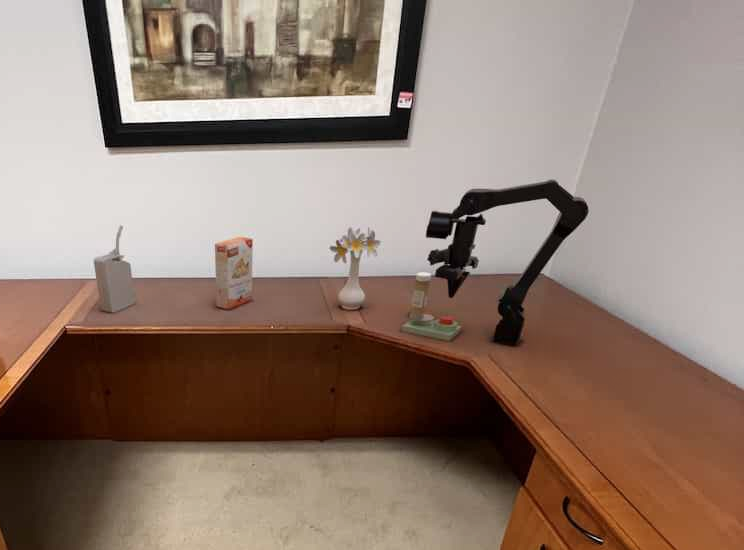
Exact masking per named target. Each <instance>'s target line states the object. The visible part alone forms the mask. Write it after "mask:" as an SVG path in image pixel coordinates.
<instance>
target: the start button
mask: <svg viewBox="0 0 744 550" xmlns="http://www.w3.org/2000/svg"><path fill="white" fill-rule="evenodd" d="M453 321H454V318H453V317H452V316H449V315H443V316H440V324H443V325H452V322H453Z"/></svg>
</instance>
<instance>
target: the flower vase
mask: <svg viewBox="0 0 744 550" xmlns="http://www.w3.org/2000/svg"><path fill="white" fill-rule="evenodd" d="M360 231H361V228H357V229H356V230H355V231H354V230H353V228H352V227H349V228H348V229H347V235H346V234H342V237H341V238H340V240H339V239H336V241H335V244H336V246H335V245H330V246H329V250H330V251H331V252H333V253H335V255H334V257H333V261H334V262H335V263H338V262H339V261H340V260H341V261H342V262H343V263H344V264H347V256H346V254H348V252H349V254H350V264H349V272H348V278H347V282H346V283H345V286H344V287H343V288H342V289H341V290H340V291H339V292H338V296H337V300H338V302H339V304H341V308H342V309H344V310H346V311H347V310H349V311H356V310H359V309H360V307H361V305H363V303H365V301H366V293H365V292H364V290H363V288H361V285H360V282H359V272H360V261H361V257H362V255H363V252H364V251H366V255H367V257H370V256H371V254H372V255H373V257H374V258H377V257H378V252H377V249H378V247H380V245H381V241H380V239H376V232H375V231H374V230H373V229H371V228H370V227H369V226H367V234H366V233H365V232H362V233H360Z"/></svg>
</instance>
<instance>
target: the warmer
mask: <svg viewBox="0 0 744 550" xmlns="http://www.w3.org/2000/svg"><path fill="white" fill-rule="evenodd" d="M440 319H441V318H440ZM440 319H436V320H434V319H433V320H432V321H427V322H421V321H415V320H412V319H410V320H409V321H408V322H406V323H405V324H403V325H402V329H401V331H402V332H406V333H410V334H415V335H420V336H424V337H429V338H434V339H439V340H443V341H449V342H450V341H451V340H452V339H453V338H454V337H456V336H457V335H458V334H459V333H461V330H462V325H458V322H457V321H455V320H453V322H452V325H443V324H440Z"/></svg>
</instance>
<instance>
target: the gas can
mask: <svg viewBox="0 0 744 550" xmlns="http://www.w3.org/2000/svg"><path fill="white" fill-rule="evenodd" d="M123 228H124V226H123V225H121V224H120V225H119V228H118V230H117V233H116V237H115V238H116V239H115V248H114V249H112V250H111V251H109V252H108V253H107V254H104V255H100V256H96V257H94V258H93V266H94V272H95V273H94V274H95V280H96V285H97V291H98V296H99V303H100V309H101V312H107V313H112V314H113V313H116V312H119V311H121V310H123V309H125V308H128V307H130V306H133V305H134V304H136V297H135V291H134V282H133V273H132V265H131V263H130V262H128V261H126V260H123V258H124V257H125V256H124V255H123V254H121V253H120V238H121V236H122V231H123Z"/></svg>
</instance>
